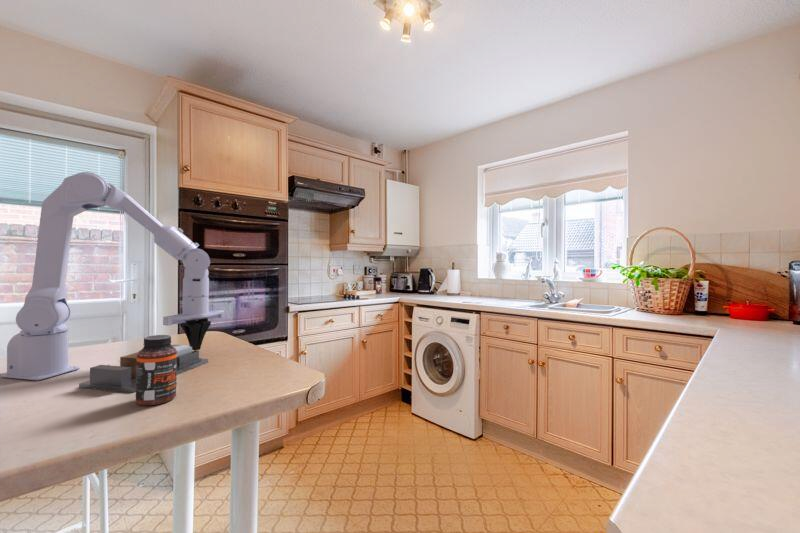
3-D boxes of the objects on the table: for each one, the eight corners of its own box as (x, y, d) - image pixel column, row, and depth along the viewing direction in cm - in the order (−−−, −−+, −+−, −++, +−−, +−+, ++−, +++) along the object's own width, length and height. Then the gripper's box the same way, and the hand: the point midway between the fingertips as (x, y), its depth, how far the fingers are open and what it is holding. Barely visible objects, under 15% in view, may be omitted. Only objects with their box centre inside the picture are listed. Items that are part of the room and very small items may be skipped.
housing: (120, 376, 71) (120, 357, 71) (143, 368, 77) (143, 350, 77) (139, 378, 71) (139, 358, 71) (161, 369, 76) (162, 351, 76)
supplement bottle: (155, 408, 59) (156, 341, 58) (126, 405, 60) (127, 339, 60) (184, 395, 64) (185, 334, 64) (157, 392, 66) (157, 332, 65)
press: (78, 387, 67) (79, 366, 67) (164, 358, 87) (164, 343, 87) (132, 392, 65) (133, 371, 65) (208, 362, 85) (208, 345, 85)
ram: (157, 362, 80) (157, 349, 80) (174, 357, 85) (174, 343, 85) (175, 364, 80) (175, 350, 79) (191, 358, 84) (192, 345, 84)
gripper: (213, 293, 97) (212, 341, 97) (156, 297, 84) (155, 353, 84) (229, 294, 93) (229, 345, 94) (172, 299, 81) (172, 357, 81)
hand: (195, 349), depth 89 cm, fingers closed
